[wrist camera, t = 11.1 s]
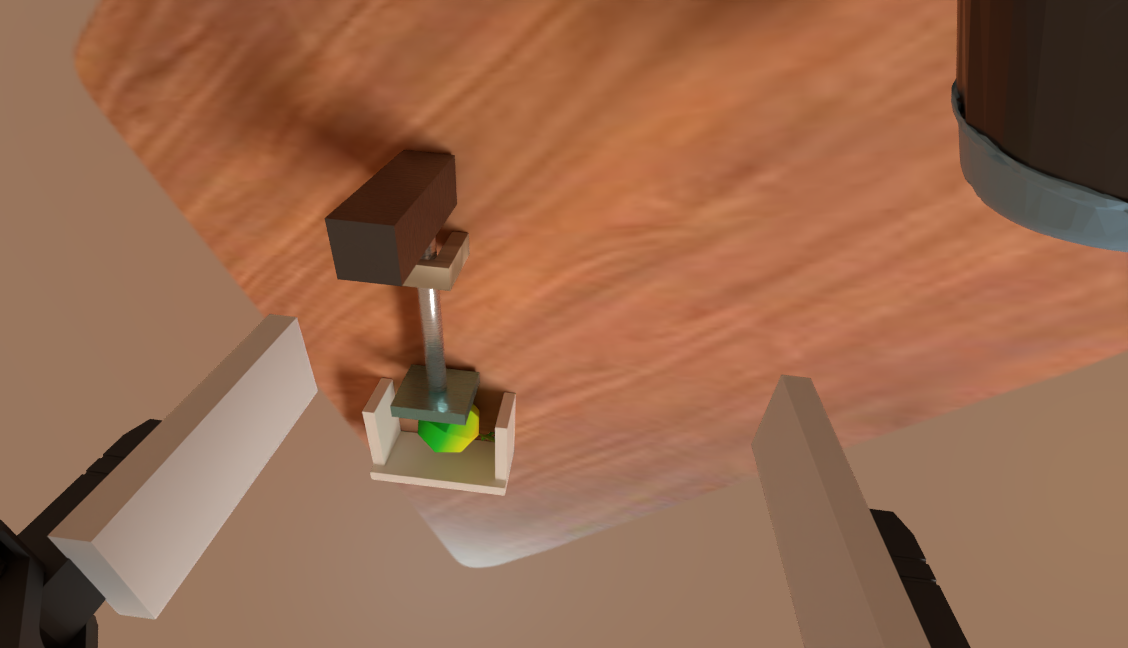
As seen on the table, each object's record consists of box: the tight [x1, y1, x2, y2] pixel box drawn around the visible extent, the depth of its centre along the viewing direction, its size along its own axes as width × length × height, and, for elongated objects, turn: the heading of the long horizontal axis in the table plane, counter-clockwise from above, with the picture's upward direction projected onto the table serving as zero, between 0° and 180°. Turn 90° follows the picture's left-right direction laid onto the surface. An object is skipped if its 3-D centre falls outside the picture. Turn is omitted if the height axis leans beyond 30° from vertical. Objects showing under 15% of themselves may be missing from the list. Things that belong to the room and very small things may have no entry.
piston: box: [325, 150, 480, 425], centre depth 41 cm, size 23×7×13 cm, turn 176°
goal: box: [362, 378, 516, 495], centre depth 54 cm, size 9×14×6 cm, turn 86°
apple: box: [418, 404, 495, 452], centre depth 54 cm, size 7×6×9 cm
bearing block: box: [402, 231, 469, 291], centre depth 42 cm, size 2×6×6 cm, turn 86°
